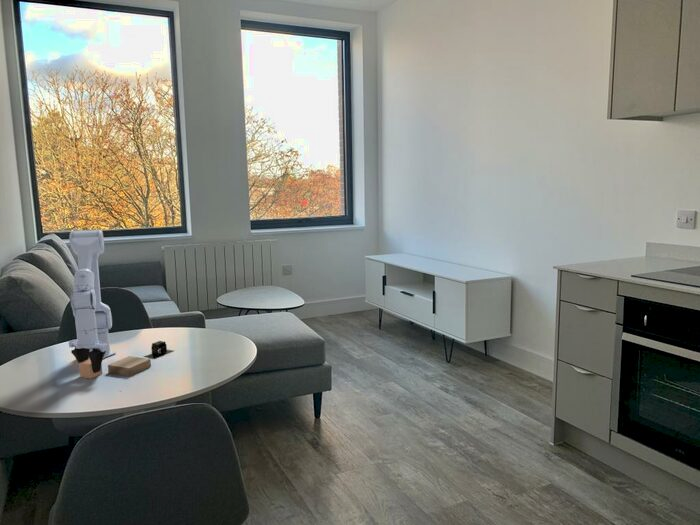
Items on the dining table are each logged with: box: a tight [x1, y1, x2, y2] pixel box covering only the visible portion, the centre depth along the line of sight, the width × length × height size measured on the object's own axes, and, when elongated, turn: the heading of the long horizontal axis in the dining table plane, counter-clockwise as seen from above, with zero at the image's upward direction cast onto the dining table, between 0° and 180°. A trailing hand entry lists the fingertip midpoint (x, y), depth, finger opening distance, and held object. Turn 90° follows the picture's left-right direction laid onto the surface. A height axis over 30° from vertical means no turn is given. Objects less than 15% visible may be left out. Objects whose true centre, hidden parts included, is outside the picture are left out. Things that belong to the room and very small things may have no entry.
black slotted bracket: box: [143, 340, 175, 360], centre depth 189 cm, size 12×7×5 cm, turn 152°
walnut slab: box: [107, 355, 152, 377], centre depth 174 cm, size 9×9×3 cm
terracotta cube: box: [78, 359, 103, 379], centre depth 169 cm, size 4×4×4 cm
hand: (90, 370), depth 169 cm, fingers closed on terracotta cube, 4 cm apart
